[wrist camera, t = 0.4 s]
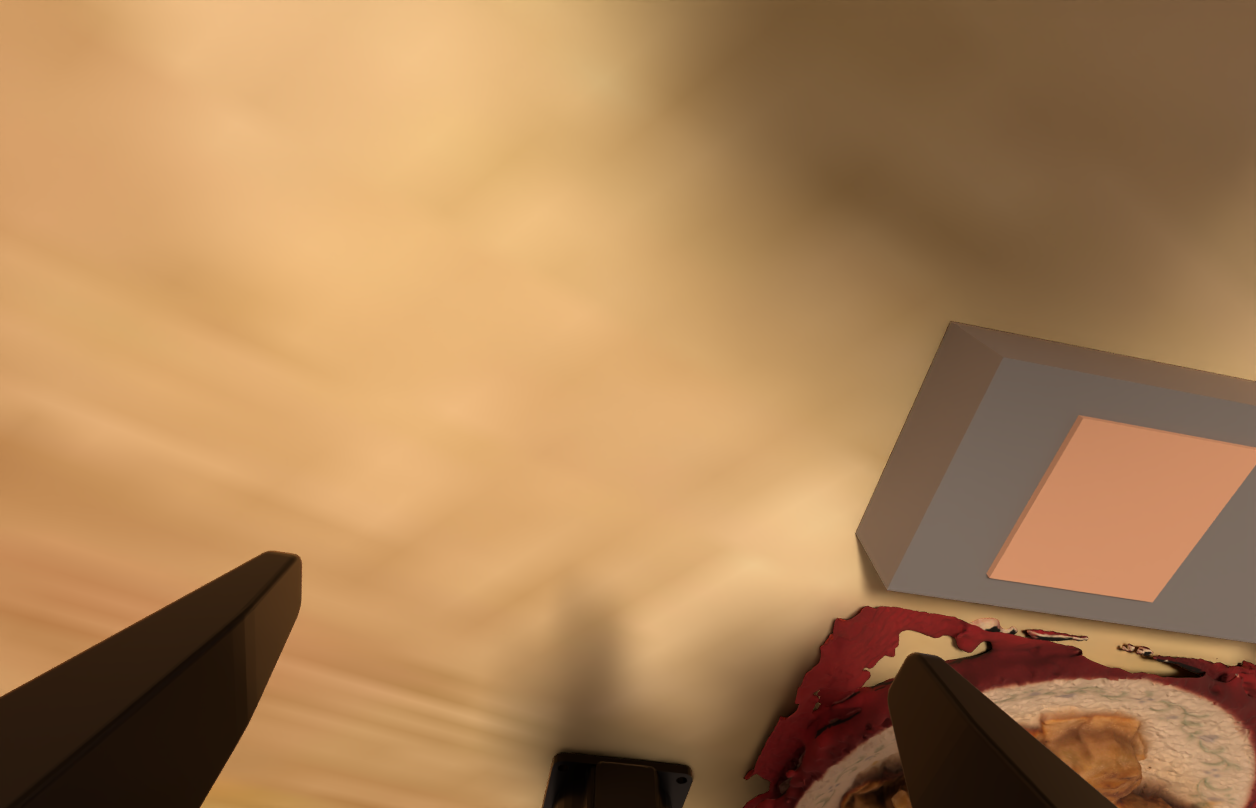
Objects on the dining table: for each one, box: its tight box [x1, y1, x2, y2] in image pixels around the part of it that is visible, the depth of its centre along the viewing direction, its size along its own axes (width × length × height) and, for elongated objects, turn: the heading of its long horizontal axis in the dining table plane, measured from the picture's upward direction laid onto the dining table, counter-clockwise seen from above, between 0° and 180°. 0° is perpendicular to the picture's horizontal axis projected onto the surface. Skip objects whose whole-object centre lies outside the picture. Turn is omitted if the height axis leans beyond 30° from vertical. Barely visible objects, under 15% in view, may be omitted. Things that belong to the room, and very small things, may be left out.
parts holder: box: [856, 321, 1256, 643], centre depth 22 cm, size 8×24×3 cm, turn 79°
